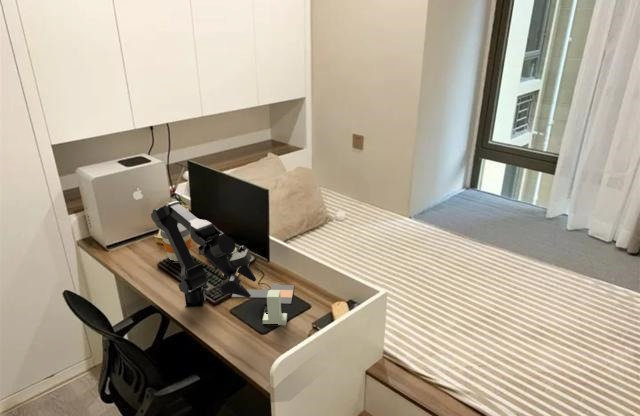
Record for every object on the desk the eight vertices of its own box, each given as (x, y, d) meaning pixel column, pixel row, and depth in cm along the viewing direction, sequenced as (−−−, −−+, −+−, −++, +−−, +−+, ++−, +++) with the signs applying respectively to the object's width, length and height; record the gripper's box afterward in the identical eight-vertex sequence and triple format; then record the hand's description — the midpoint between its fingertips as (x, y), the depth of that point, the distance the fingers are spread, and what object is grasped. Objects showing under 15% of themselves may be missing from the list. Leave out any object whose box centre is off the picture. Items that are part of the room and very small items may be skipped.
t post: (262, 324, 155) (260, 296, 150) (264, 317, 158) (262, 290, 154) (285, 325, 154) (284, 297, 150) (287, 317, 158) (285, 290, 153)
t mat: (229, 302, 166) (229, 301, 166) (236, 285, 177) (236, 284, 177) (291, 304, 165) (290, 303, 165) (294, 286, 176) (294, 285, 176)
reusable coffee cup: (158, 259, 197) (153, 228, 191) (181, 248, 206) (177, 218, 200) (177, 267, 190) (172, 236, 184) (200, 255, 200) (196, 225, 194)
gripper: (228, 259, 136) (264, 292, 141) (242, 230, 153) (273, 260, 158) (204, 279, 140) (240, 310, 144) (220, 248, 157) (252, 277, 161)
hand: (252, 288), depth 152 cm, fingers open, 9 cm apart
